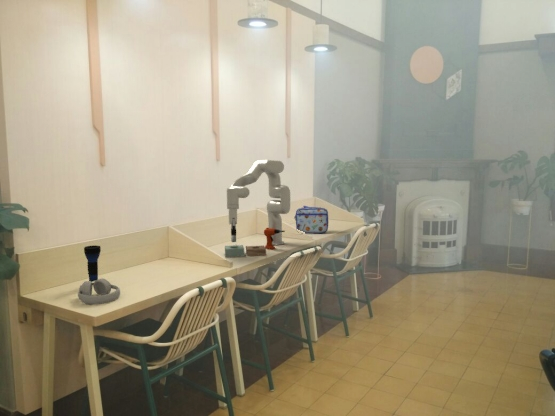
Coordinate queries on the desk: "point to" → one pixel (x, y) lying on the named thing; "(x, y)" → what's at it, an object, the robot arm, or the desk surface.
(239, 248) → the rack holder
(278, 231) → the toy drill
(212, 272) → the desk surface
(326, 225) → the lunch box
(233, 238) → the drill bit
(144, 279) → the desk surface
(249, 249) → the socket block
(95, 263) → the flashlight
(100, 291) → the headphones
